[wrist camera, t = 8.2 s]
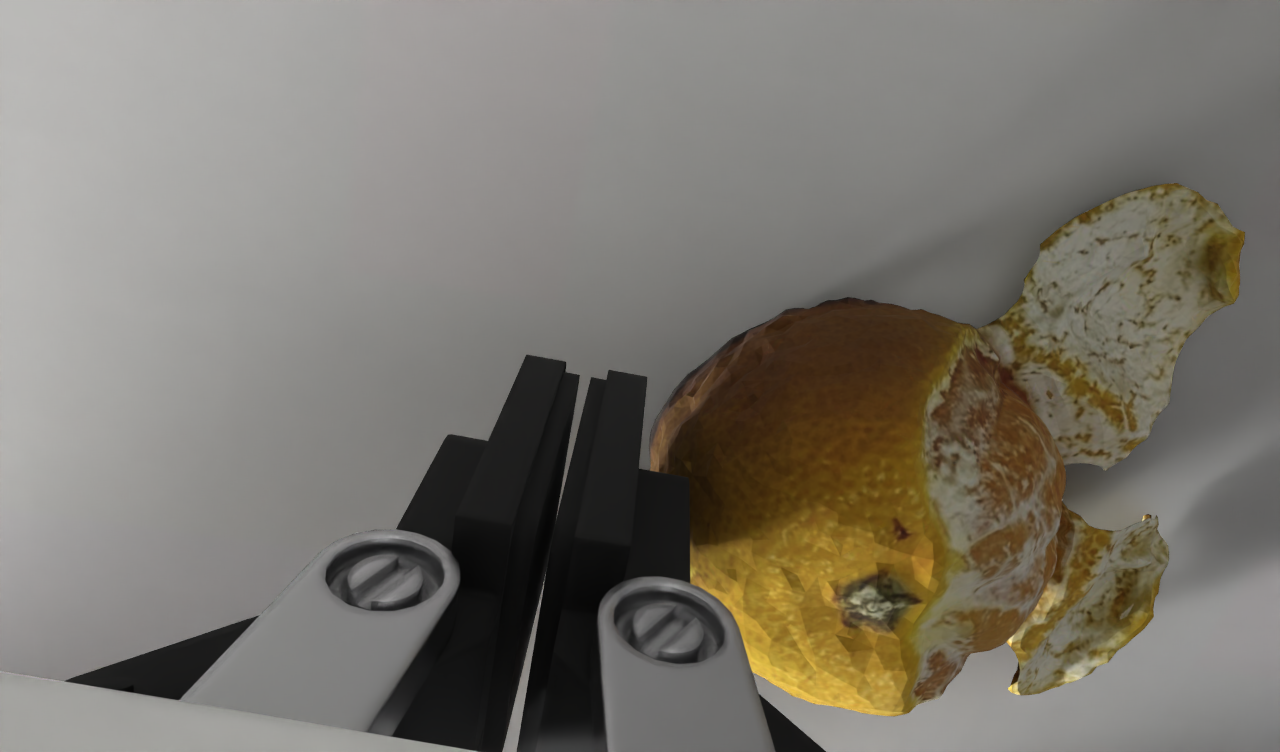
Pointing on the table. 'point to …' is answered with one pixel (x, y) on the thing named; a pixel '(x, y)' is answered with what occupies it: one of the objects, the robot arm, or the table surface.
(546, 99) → the table surface
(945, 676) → the fruit
